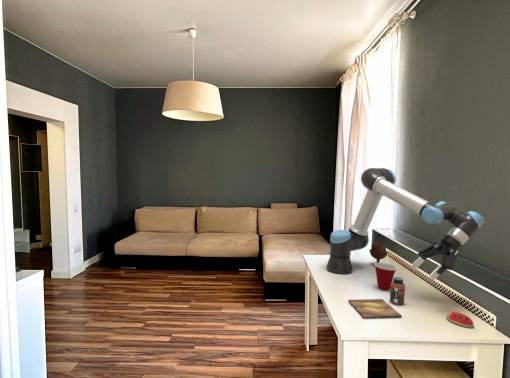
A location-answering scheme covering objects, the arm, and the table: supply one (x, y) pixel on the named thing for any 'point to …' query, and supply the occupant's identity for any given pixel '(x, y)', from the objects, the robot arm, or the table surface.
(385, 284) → the plastic cup
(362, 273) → the table surface
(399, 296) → the supplement bottle
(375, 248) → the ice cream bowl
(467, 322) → the ladybug figurine
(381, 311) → the walnut board
